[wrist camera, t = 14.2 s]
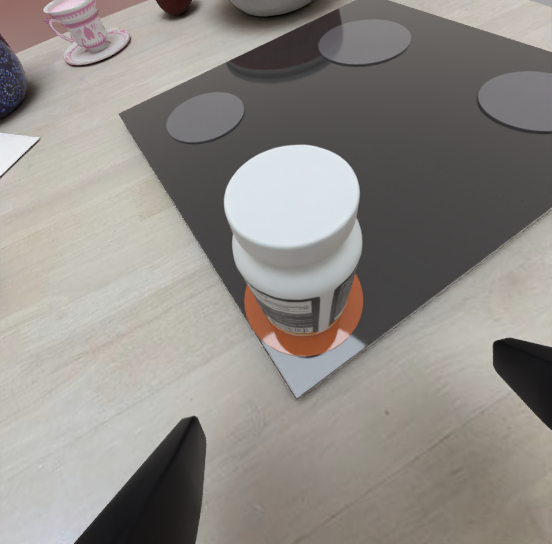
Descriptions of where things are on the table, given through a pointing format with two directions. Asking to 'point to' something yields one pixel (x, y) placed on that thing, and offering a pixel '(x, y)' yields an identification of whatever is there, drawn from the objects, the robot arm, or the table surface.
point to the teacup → (85, 31)
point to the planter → (10, 79)
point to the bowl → (269, 6)
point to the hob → (367, 156)
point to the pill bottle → (296, 234)
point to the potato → (174, 6)
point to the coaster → (13, 148)
